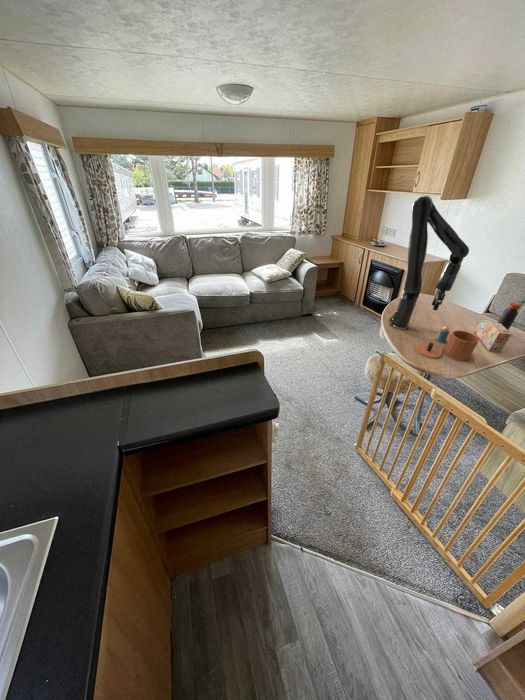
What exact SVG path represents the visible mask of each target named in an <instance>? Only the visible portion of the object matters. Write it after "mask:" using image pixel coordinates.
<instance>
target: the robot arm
mask: <svg viewBox="0 0 525 700" xmlns="http://www.w3.org/2000/svg"><path fill="white" fill-rule="evenodd" d="M428 224H429V225H430V227H431V229H432V230H433V232H434V233H435V235H436V236H437V237H438V239H439V240H440V242H441V243H442V244H444V246H446V247H447V249H448V250H449V251H450V254H449V257H448V261H447V263H446V264H445V267H444V269H443V271H442V273H441V274H440V276H439V278H438V281H437V283H436V285H435V288H436V289H437V290H436V291H435V294H434V296H433V300H432V302H431V305H432V306H433V307H432V310H433V311H438V309H439V307H440V305H442V304H443V301H444V299H445V297H446V292H450V291H451V290H452V288H453V286H454V284H455V281H456V279H457V276H458V274H459V272H460V270H461V267H462V263H463V261H464V259H465V258H466V257H467V256H468V255H469V253H470V247H469V245H467V244H466V243H465V242H464V240H462V239H461V237H460V236H459V235H458V233H457V232H456V231H455V229H454V228H453V227H452V226H451V224H449V222H447V220H446V219H445V218H444V217H443V216H442V215H441V213H440V212H439V211H438V208H436V206H435V204H434V202H433V199H432V197H431V196H430V195H425V194H423V195H420V196H418V197H416V198H415V200H414V201H413V202H412V205H411V229H410V234H409V240H408V247H407V271H406V277H405V281H404V287H403V290H402V293H401V296H400V298H399V302H398V304H397V307H396V310H395V312H394V314H393V315H392V316H390V318H389V319H388V320H389V322H390V326H392V327H393V328H396V329H400V330H406V329H407V328H408V327H409V324H410V321H411V317H412V315H413V312H414V310H415V307H416V304H417V302H418V299H419V296H420V293H421V291H422V288H423V285H424V278H423V277H422V275H423V274H422V273H423V272H422V271H423V267H424V263H425V260H426V255H427V250H428V243H429V241H428V240H429V236H428V235H429V232H428Z"/></svg>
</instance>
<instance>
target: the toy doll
mask: <svg viewBox="0 0 525 700" xmlns="http://www.w3.org/2000/svg"><path fill="white" fill-rule="evenodd" d="M449 335H450V327H449V326H446V325H445V326H444V327H442V328H441V329H440V330H439V332H438V335H437V337H436V341H438V342H440V343H445V342H446V341H447V338H448V336H449Z"/></svg>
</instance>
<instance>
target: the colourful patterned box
mask: <svg viewBox="0 0 525 700" xmlns="http://www.w3.org/2000/svg"><path fill="white" fill-rule="evenodd" d="M474 333H475V336H477V337H478V339H479V340H480V341H481V342H482V344H483V346H485V348H486V350H487V351H489V352H496V353H501V352H502V350H503V349H504V348H505V346H506V344H507V342H508V341H509V339H510V337H511V336H512V333H511V332H510V331H509V330H507V329H506V328H505V327H504V326H503V325H502V324H500V323H498V322H493V321H492V320H488V319H487V320H486V319H480V320H479V322H478V325H477V327H476V329H475V330H474Z"/></svg>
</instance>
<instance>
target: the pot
mask: <svg viewBox="0 0 525 700" xmlns="http://www.w3.org/2000/svg"><path fill="white" fill-rule="evenodd" d="M479 340H480V339H479V337H478V336H477V335H476V334H474V333H471V332H469V331H466V330H458V329H457V330H453V331H452V332H451V335H450V337H449V338H448V341H447V343H446V345H445V347H444V349H443V352H444V353H445V355H447V356H448V357H450V358H452V359H454V360H458V361H468V360H469V359H470V358H471V356H472V354H473V352H474V350H475V348H476V347H477V345H478V343H479Z"/></svg>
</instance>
